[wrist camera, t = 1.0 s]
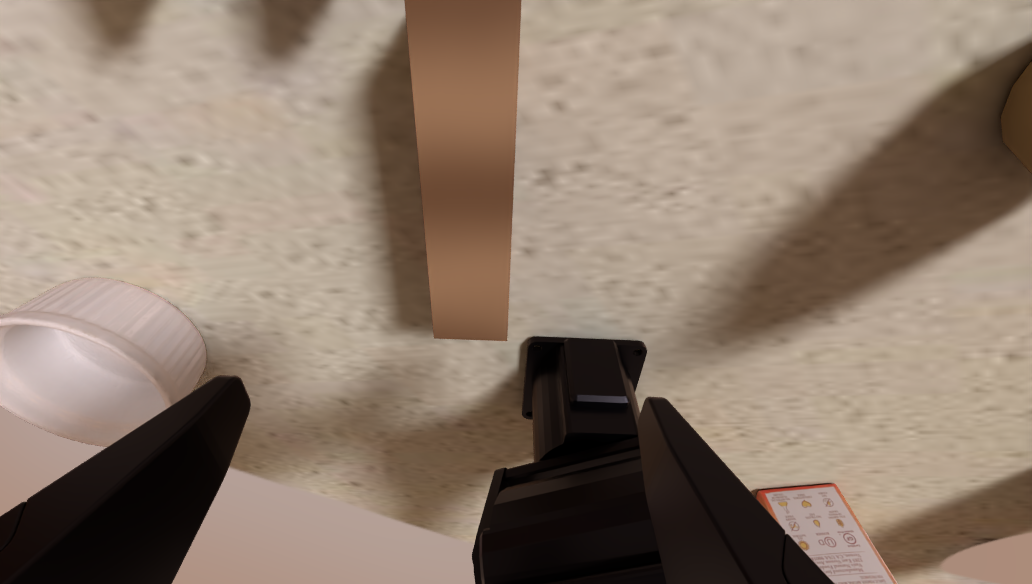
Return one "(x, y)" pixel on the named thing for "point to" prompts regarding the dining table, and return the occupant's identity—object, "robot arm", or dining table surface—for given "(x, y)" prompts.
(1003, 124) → the squeeze bottle
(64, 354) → the ramekin
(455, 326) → the slat
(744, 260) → the dining table surface
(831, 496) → the cracker box
